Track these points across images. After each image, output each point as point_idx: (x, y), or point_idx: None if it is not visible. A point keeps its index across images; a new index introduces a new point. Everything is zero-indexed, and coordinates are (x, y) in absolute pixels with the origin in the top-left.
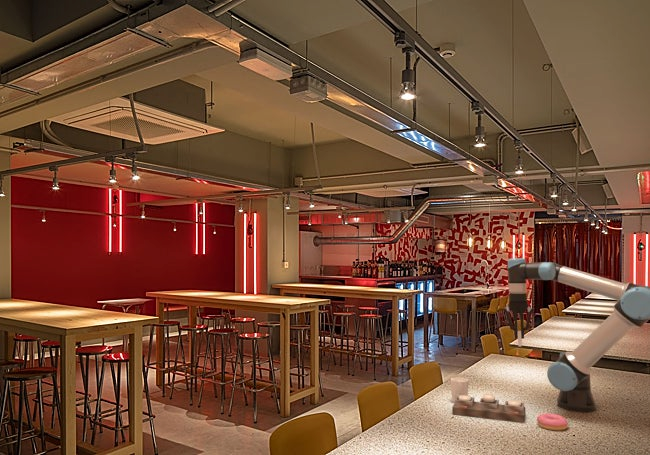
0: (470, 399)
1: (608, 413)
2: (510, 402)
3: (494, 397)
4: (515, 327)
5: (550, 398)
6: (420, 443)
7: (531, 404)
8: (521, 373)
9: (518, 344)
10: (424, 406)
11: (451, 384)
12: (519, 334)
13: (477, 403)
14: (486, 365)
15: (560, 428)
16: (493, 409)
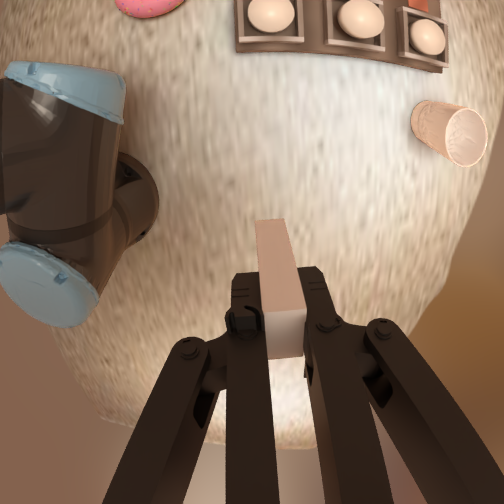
0: (411, 31)
1: None
2: (283, 2)
3: (342, 7)
4: (340, 349)
5: (185, 252)
6: None
7: (228, 168)
8: (272, 398)
9: (282, 225)
10: (489, 62)
11: (476, 123)
12: (280, 287)
13: (387, 42)
14: None
15: None
16: None
